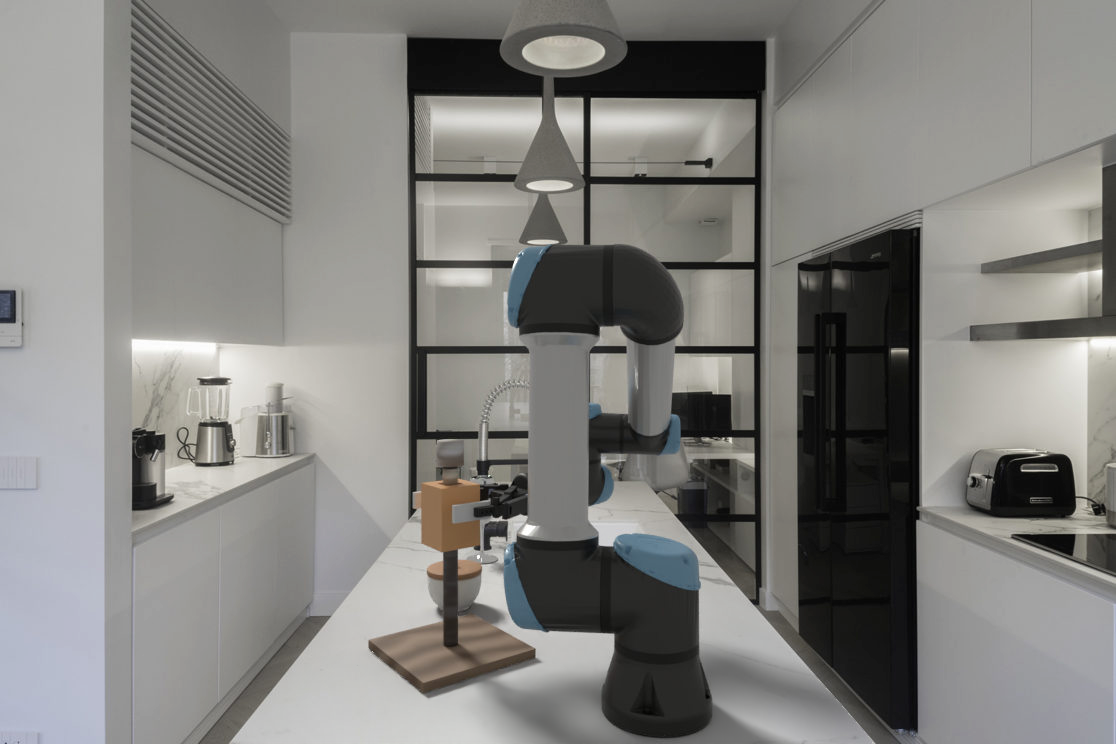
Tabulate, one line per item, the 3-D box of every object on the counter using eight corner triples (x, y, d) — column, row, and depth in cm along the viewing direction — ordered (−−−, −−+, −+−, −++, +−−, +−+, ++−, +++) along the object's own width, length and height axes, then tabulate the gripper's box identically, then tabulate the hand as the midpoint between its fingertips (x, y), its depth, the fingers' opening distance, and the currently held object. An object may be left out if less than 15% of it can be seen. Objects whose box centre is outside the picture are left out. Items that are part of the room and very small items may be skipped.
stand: (535, 657, 114) (535, 442, 114) (423, 693, 102) (422, 451, 102) (472, 621, 130) (471, 432, 130) (368, 648, 118) (367, 439, 117)
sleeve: (479, 545, 115) (479, 484, 115) (441, 552, 111) (441, 489, 111) (458, 536, 121) (458, 478, 121) (421, 543, 117) (421, 482, 116)
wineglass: (504, 558, 172) (504, 476, 172) (484, 566, 166) (484, 481, 165) (479, 553, 176) (479, 473, 176) (458, 561, 170) (458, 478, 169)
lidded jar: (472, 618, 132) (471, 568, 132) (418, 613, 134) (418, 564, 134) (488, 599, 143) (488, 552, 143) (438, 595, 145) (438, 550, 145)
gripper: (583, 526, 117) (472, 546, 104) (501, 502, 137) (399, 516, 124) (583, 480, 117) (472, 495, 104) (501, 463, 137) (399, 474, 124)
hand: (432, 507), depth 114 cm, fingers open, 13 cm apart
